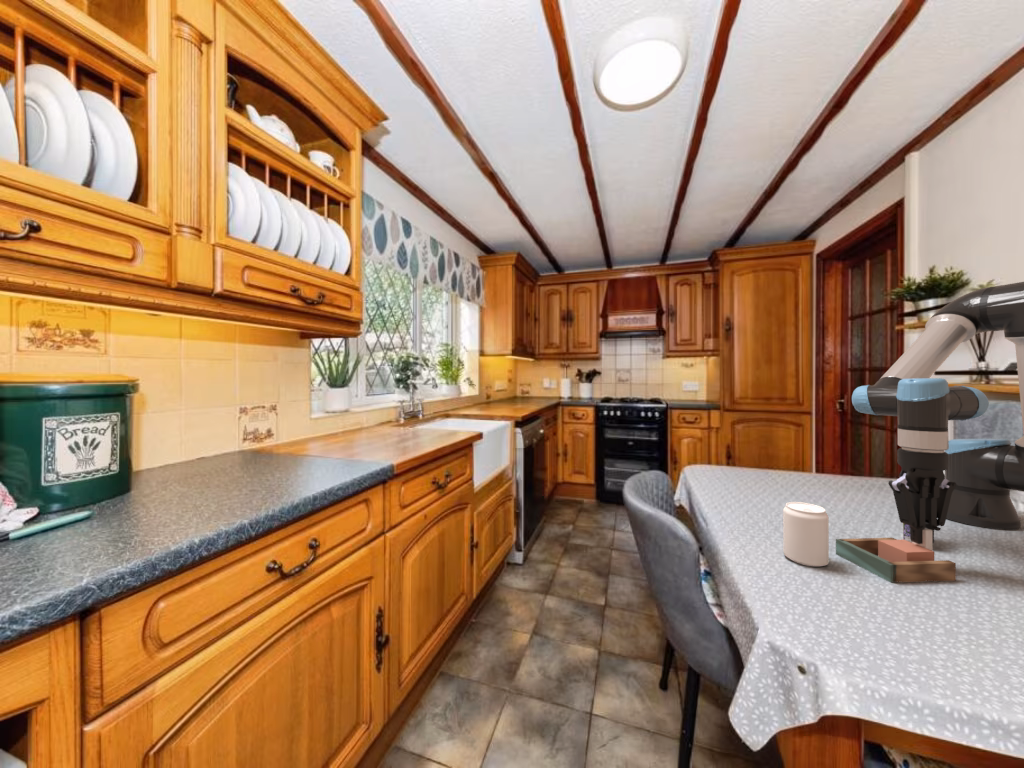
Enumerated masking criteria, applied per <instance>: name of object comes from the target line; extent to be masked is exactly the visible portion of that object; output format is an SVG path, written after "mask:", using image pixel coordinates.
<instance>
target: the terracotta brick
mask: <svg viewBox="0 0 1024 768" xmlns="http://www.w3.org/2000/svg"><path fill="white" fill-rule="evenodd" d="M877 556H878V557H881V558H883V559H885V560H887V561H889V562H907V561H935V551H934V550H933V549H932V550H929V549H927V548H924V547H922V546H919V545H916V544H914V543H911V542H909V541H906V540H903V539H897V540H878V555H877Z"/></svg>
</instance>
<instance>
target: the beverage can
mask: <svg viewBox="0 0 1024 768" xmlns="http://www.w3.org/2000/svg"><path fill="white" fill-rule="evenodd" d="M782 517H783V518H782V521H783V523H782V528H783V532H782V535H783V537H782V541H783V549H782V550H783V555H784V556H785V557H787V558H788V559H790V560H791V561H792V562H795V563H797V564H799V565H802V566H808V567H814V568H815V567H818V568H819V567H823V566H827V565H828V564H829V563H830V562H829V561H830V560H829V559H830V555H829V552H830V551H829V550H830V548H829V547H830V545H829V543H830V541H829V540H830V539H829V537H830V536H829V532H830V531H829V529H830V528H829V521H830V520H829V515H828V514H827V512H826V509H825V507H822V506H820V505H816V504H812V503H809V502H808V503H807V502H802V501H800V502H798V501H790V502H786V503H785V506H784V508H783V509H782Z"/></svg>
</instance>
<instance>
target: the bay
mask: <svg viewBox="0 0 1024 768" xmlns="http://www.w3.org/2000/svg"><path fill="white" fill-rule="evenodd" d="M878 540H898V539H896V538H894V537H868V538H867V537H866V538H865V537H864V538H863V537H861V538H835V555H836V556H839V557H840V558H843V559H845V560H846V561H848V562H850V563H853V564H854V565H856V566H858V567H860V568H862V569H864V570H866V571H868V572H870V573H871V574H874V575H875V576H877V577H879V578H882V579H883V580H884V581H887V582H889V583H911V582H913V583H915V582H919V583H920V582H943V581H944V582H949V581H950V582H951V581H953V582H954V581H956V580H957V577H956V574H957V569H956V567H957V566H956V562H954V561H951V560H934V561H907V562H889V561H887V560H885V559H883V558H881V557H878Z"/></svg>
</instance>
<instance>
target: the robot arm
mask: <svg viewBox="0 0 1024 768" xmlns="http://www.w3.org/2000/svg"><path fill="white" fill-rule="evenodd" d="M924 328H925V330H923V332H922V333H921V335H919V336H918V337H917V338H916V339H915V341H914V342H913V343H912V344H911V345H910V346H909V347H908V348H907V349H906V350H905V351H904V353H902V355H901V356H900V357H899V358H898V359H897V360H896V361H895V362H894V363H893V364H892V365H891V366H890V367H889V368H888V370H887V371H886V372H885V373H884V374H883V375H882V376H881V377H880V378H879V379H878V380H877V381H876V382H875V384H872V385H870V384H867V385H861V386H857V387H856V388H855V389H854V390H853V392H852V395H851V403H852V406H853V407H854V409H855V411H857V412H858V413H862V414H868V415H874V416H889V417H897V427H896V428H897V446H899V448H898V449H896V452H897V453H896V455H897V456H896V457H897V461H896V462H897V464H898V465H899V466H900V468H901V471H900V473H899V478H897V479H896V480H892V479H890V480H888V483H887V484H888V486H889V488H890V489H891V490H892V492H893V497H894V501H895V505H896V509H897V514H898V518H899V521H900V523H901V524H903V523H904V524H907V525H909V526H910V534H911V535H910V539H911V541H912V543H914V544H916V545H919V546H922V547H924V548H927V549H929V550H932V551H933V544H934V542H935V531H936V532H938V531H941V529H942V527H944V526H945V524H946V520H950V521H953V522H957V523H961V524H965V525H970V526H974V527H981V528H987V529H995V530H1003V531H1004V530H1005V531H1006V530H1007V531H1008V530H1009V531H1013V530H1015V531H1016V530H1019V529H1021V528H1022V527H1021V526H1022V522H1021V521H1022V520H1021V517H1020V516H1019V515H1018V512H1017V510H1016V508H1015V505H1014V504H1013V501H1012V499H1011V490H1013V491H1019V492H1024V435H1022V436H1021V437H1020V438H1018V439H1016V440H1015V441H1014V445H1012V442H1011V441H1010V440H1009V439H1008V438H953V439H949V421H966V420H972V419H977V418H978V417H980V416H983V415H984V414H985V413H986V412H987V410H988V409H989V403H990V401H989V399H988V397H987V396H986V394H985V393H984V392H983V391H981V390H980V389H978V388H975V387H971V386H965V385H954V386H949V382H948V381H947V379H945V378H942V377H941V378H938V377H937V378H936V377H935V378H933V377H932V378H931V376H932V375H934V373H935V372H936V371H937V370H938V369H939V368H940V367H941V365H942V364H943V363H945V361H947V359H948V358H949V357H950V356H951V355H952V353H953V352H954V351H955V350H956V349H957V348H958V347H959V346H960V345H961V344H962V343H965V342H967V341H970V340H971V339H973V338H974V336H975V335H977V334H982V333H987V332H1000V331H1003V333H1004V339H1006V340H1008V341H1010V342H1012V343H1013V344H1014V345H1015V356H1016V367H1017V368H1016V369H1017V377H1018V388H1019V389H1018V390H1019V398H1020V399H1019V400H1020V409H1021V418H1022V419H1021V420H1022V421H1021V422H1022V430H1023V431H1022V432H1023V433H1022V434H1024V281H1020V282H1014V283H1013V282H1012V283H1008V284H1007V283H1006V284H1002V285H996V286H995V285H994V286H988V287H983V288H979V289H976V290H973V291H970V292H968V293H965V294H964V295H962V296H960V297H958V298H956V299H954V300H952V301H950V302H949V303H948V304H946V305H944V306H942V307H941V308H940V309H939V310H937V311H936V313H934V314H933V315H932V316H931V317H930V318H929V319H928V320H927V321H926V322H925V325H924Z"/></svg>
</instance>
